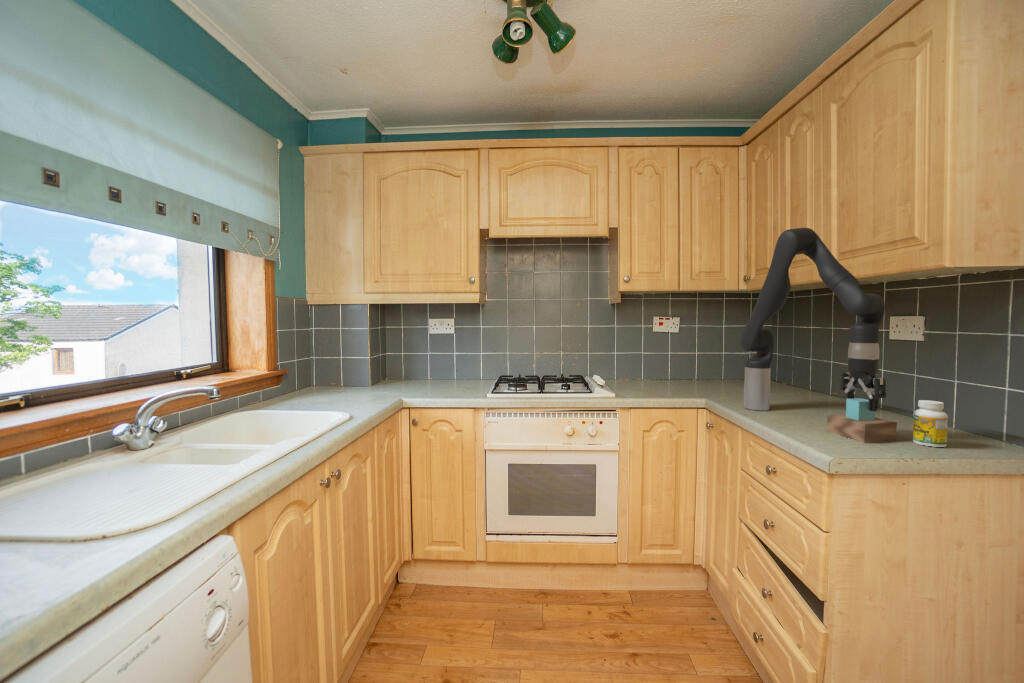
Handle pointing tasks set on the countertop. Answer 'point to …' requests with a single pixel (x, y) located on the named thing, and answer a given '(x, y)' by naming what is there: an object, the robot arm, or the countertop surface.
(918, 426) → the supplement bottle
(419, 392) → the countertop surface
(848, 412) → the teal block
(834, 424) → the walnut box
